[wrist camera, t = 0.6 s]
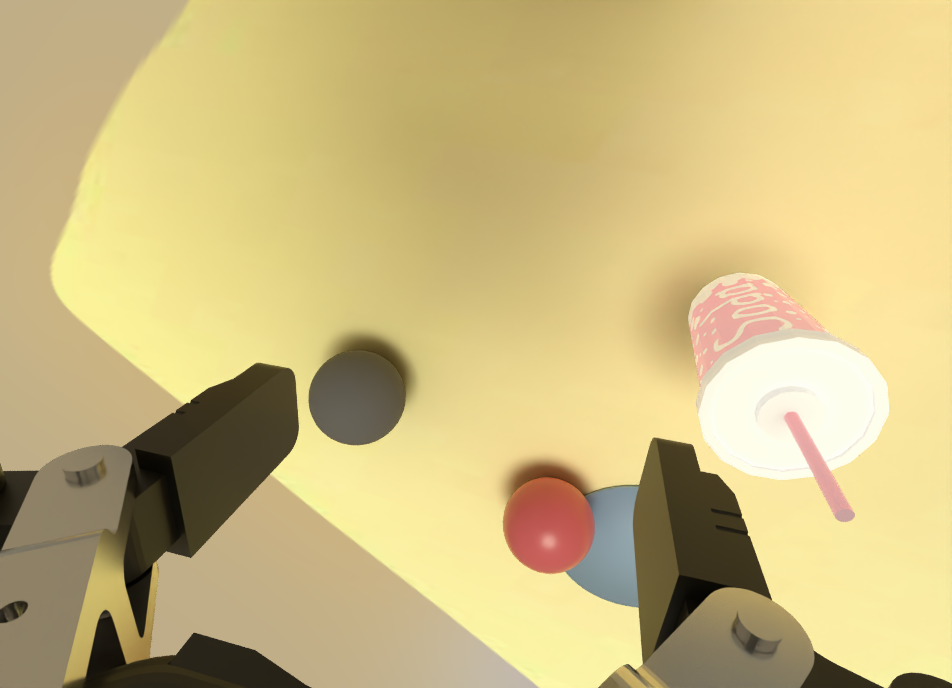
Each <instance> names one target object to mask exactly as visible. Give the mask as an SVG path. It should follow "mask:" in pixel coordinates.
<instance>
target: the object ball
mask: <svg viewBox="0 0 952 688" xmlns="http://www.w3.org/2000/svg"><path fill="white" fill-rule="evenodd" d="M503 531H504V536H505V539H506V542H507V544H508V547H509V548H510V550H511V552H512V553H513V555H514V556H515V557H516V558H517V559H518V560H519V561H520V562H521V563H522V564H523V565H525V566H526V567H528V568H530V569H532V570H534V571H537V572H540V573H546V574H556V573H562V572H565V571H568V570H570V569H572V568H574V567H575V566H576V565H578V564H579V563H580V562H581V561H582V560H583V559H584V558H585V557H586V555H587V554H588V552H589V550H590V548H591V546H592V543H593V539H594V534H595V522H594V516H593V512H592V509H591V507H590V505H589V503H588V501H587V500H586V498H585V497H584V495H583V494H582V493H581V492H580V491H579V490H578V489H577V488H575V487H574V486H573V485H571V484H570V483H568V482H566V481H563V480H560V479H556V478H550V477H543V478H537V479H534V480H531V481H528V482H526V483H525V484H523V485H522V486H520V487H519V488H518V489H517V490H516V491H515V492H514V493H513V495H512V496H511V497H510V499H509V501H508V503H507V505H506V508H505V511H504V517H503Z"/></svg>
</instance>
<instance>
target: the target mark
mask: <svg viewBox="0 0 952 688" xmlns="http://www.w3.org/2000/svg"><path fill="white" fill-rule="evenodd" d="M638 488H639V486H615V487H609V488H604V489H601V490H598V491H594V492H592V493H590V494H587V495H585V496H584V497H585V498H586V500H587V501H588V503H589V505H590V507H591V509H592V512H593V516H594V522H595V534H594V539H593V543H592V546H591V548H590V550H589V552H588V554H587V555H586V557H585V558H584V559H583V560H582V561H581V562H580V563H579V564H578V565H576V566H575V567H574V568H572V569H570V570H568V571H565V572H566V573H567V574H568V575H569V576H570V577H571V578H572V580H574V581H575V582H576V583H577V584H578V585H579V586H581V587H582V588H584V589H585V590H587V591H588V592H590V593H592V594H594V595H596V596H598V597H600V598H602V599H605V600H607V601H610V602H613V603H617V604H621V605H625V606H631V607H639V604H638V591H637V577H636V564H635V550H634V537H633V513H634V506H635V500H636V496H637V492H638Z"/></svg>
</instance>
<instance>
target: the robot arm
mask: <svg viewBox="0 0 952 688" xmlns="http://www.w3.org/2000/svg"><path fill="white" fill-rule="evenodd" d="M298 431H299V422H298V408H297V395H296V381H295V375H294V373H293V371H292V370H291V369H289V368H284V367H279V366H274V365H268V364H263V363H256V364H254V365H253V366H251V367H250V368H248V369H247V370H246V371H244V372H243V373H241V374H240V375H238V376H237V377H236V378H234V379H231V380H229V381H226V382H224V383H221V384H218V385H216V386H213V387H210V388H208V389H207V390H205V391H204V392H202V393H201V394H199V395H198V396H196V397H195V398H193V399H192V400H191V402H190V403H186V404H185V405H183V406H182V407H180V408H179V409H177V410H176V413H172V414H170V415H168V416H167V417H166V418H164V419H163V420H161V421H160V422H158V423H157V424H155V425H154V426H152V427H151V428H149V429H148V430H146V431H145V432H143V433H142V434H141V435H139V436H138V437H136V438H135V439H133V440H132V441H130V442H129V443H127V444H126V445H124V446H123V447H119V446H113V445H99V446H91V447H86V448H82V449H78V450H75V451H72V452H69V453H66V454H64V455H62V456H60V457H58V458H56V459H54V460H52V461H51V462H49V463H48V464H46V465H45V466H44V467H42V468H41V469H40V471H2V467H1V464H0V688H311V687H309V686H307V685H305V684H304V683H302V682H301V681H299V680H298V679H296V678H295V677H294V676H292V675H291V674H289V673H288V672H286V671H285V670H283V669H282V668H280V667H279V666H277V665H276V664H274V663H273V662H272V661H270V660H269V659H267V658H266V657H264V656H262V655H261V654H260V653H258V652H257V651H255V650H252V649H249V648H245V647H242V646H239V645H235V644H232V643H228V642H225V641H221V640H218V639H214V638H211V637H208V636H204V635H201V634H197V633H193V634H192V636H191V637H190V638H189V639H188V641H187V642H186V643H185V644H184V646H183V647H182V648H181V649H180V651H179V652H178V653H177V654H176V655H170V656H162V657H154V658H150V648H151V640H152V630H153V622H154V613H155V603H156V595H157V586H158V577H159V568H158V564H157V560H158V559H159V558H160V557H161V556H162V555H163V553H165V552H166V551H167V552H171V553H175V554H178V555H183V556H186V557H190V558H191V557H192V556H193V555H194V554H195V553H196V552H197V551H198V550H199V549H200V548H201V547H202V546H203V545H204V543H205V542H206V541H207V540H208V539H209V538H210V537H211V536H212V535H213V534H214V533H215V532H216V531H217V530H218V529H219V527H220V526H221V525H222V524H223V523H224V522H225V521H226V520H227V519H228V518H229V517H230V516H231V515H232V514H233V513H234V512H235V510H236V509H237V508H238V507H239V506H240V505H241V504H242V503H243V502H244V501H245V500H246V499H247V498H248V497H249V496H250V495H251V493H253V491H254V490H255V489H256V488H257V487H258V486H259V485H260V484H261V483H262V482H263V481H264V480H265V479H266V478H267V477H268V475H269V474H270V473H271V472H272V471H273V470H274V469H275V468H276V467H277V466H278V465H279V464H280V463H281V462H282V461H283V460H284V458H285V457H286V456H287V455H288V454H289V453H290V452H291V450H292V449H293V447H294V445H295V443H296V440H297V436H298ZM633 537H634V550H635V564H636V577H637V591H638V604H639V618H640V631H641V645H642V658H643V665H641V666H640V667H639V668H638V669H636V670H635V669H633V668H632V667H631V666H630V665H629V664H626V665H623V666H622V667H620V668H619V669H617V670H616V671H615V672H614V673H613V674H612V675H611V676H609V677H608V678H607V679H606V680H605V681H604V682H603V683H602V684H601V685H600V686H599V687H598V688H883V687H881V686H879V685H877V684H875V683H873V682H871V681H869V680H867V679H865V678H863V677H861V676H859V675H857V674H855V673H853V672H851V671H849V670H847V669H845V668H843V667H841V666H839V665H837V664H835V663H833V662H831V661H829V660H828V659H826V658H824V657H823V656H821V655H820V654H818V653H817V652H815V651H814V650H813V646H812V644H811V641H810V639H809V637H808V635H807V633H806V632H805V631H804V629H803V628H802V626H801V625H800V624H799V623H798V622H797V620H796V619H795V618H794V617H793V616H792V615H791V614H789V613H788V612H787V611H786V610H785V609H784V608H782V607H781V606H780V605H778V604H777V603H775V602H773V601H772V598H771V595H770V593H769V590H768V587H767V584H766V581H765V578H764V576H763V573H762V570H761V567H760V564H759V561H758V559H757V556H756V553H755V550H754V547H753V544H752V542H751V539H750V536H748V530H747V527H746V525H745V522H744V519H742V513H741V510H740V508H739V505H738V502H737V499H736V496H735V494H734V493H733V492H732V491H731V489H730V488H729V487H728V486H727V485H726V484H725V483H724V482H723V480H722V479H721V478H720V477H719V476H718V475H716V474H711V473H706V472H701V471H700V468H699V464H698V461H697V457H696V454H695V450H694V447H693V445H691V444H687V443H681V442H676V441H671V440H665V439H660V438H653V439H652V441H651V444H650V447H649V450H648V454H647V458H646V462H645V465H644V469H643V473H642V477H641V480H640V484H639V488H638V492H637V496H636V500H635V506H634V513H633ZM888 688H952V684H951V683H949V682H947V681H945V680H943V679H940V678H937V677H934V676H931V675H926V674H922V673H905V674H902V675H900V676H897V677H896V678H895V679H894V680H893V681H892V683H891V684H890V686H889V687H888Z"/></svg>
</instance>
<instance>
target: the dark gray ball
mask: <svg viewBox="0 0 952 688" xmlns="http://www.w3.org/2000/svg"><path fill="white" fill-rule="evenodd" d="M404 406H405V387H404V383H403V380H402V378H401V376H400V374H399V372H398V371H397V369H396V368H395V367H394V366H393V365H392V363H390V362H389V361H388V360H387V359H385V358H384V357H382V356H380V355H378V354H376V353H373V352H369V351H364V350H354V351H347V352H343V353H341V354H338V355H336V356H334V357H332V358H331V359H329V360H328V361H327V362H326V363H324V364H323V365H322V366H321V368H320V369H319V370H318V371H317V373H316V374H315V376H314V378H313V380H312V383H311V386H310V390H309V408H310V412H311V415H312V417H313V419H314V421H315V423H316V425H317V426H318V427H319V429H320V430H321V431H322V432H323V433H324V434H326V435H327V436H328V437H330V438H331V439H333V440H335V441H337V442H340V443H343V444H348V445H364V444H369V443H372V442H375V441H377V440H379V439H381V438H382V437H384V436H385V435H387V434H388V433H389V432H390V431H391V430H392V429H393V428H394V427H395V426H396V424H397V423H398V421H399V419H400V418H401V416H402V413H403V410H404Z"/></svg>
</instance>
